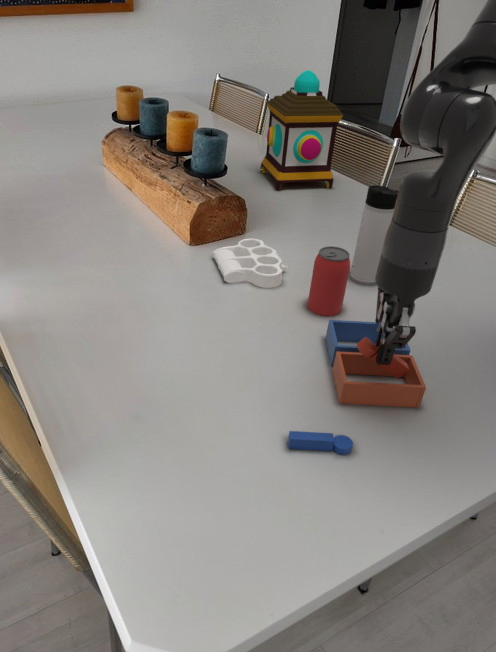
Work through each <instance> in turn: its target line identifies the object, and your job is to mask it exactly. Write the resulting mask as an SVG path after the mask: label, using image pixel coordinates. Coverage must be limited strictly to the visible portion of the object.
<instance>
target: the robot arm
mask: <svg viewBox="0 0 496 652" xmlns="http://www.w3.org/2000/svg"><path fill="white" fill-rule="evenodd" d="M492 85H496V0H487V1H486V2H485V3H484V5H483V7H482V9H481V11H480V12H479V13H478V15H477V17H476V18H475V20H474V21H473V23H472V25H471V26H470V28H469V30H468V31H467V32H466V34H465V36H464V37H463V39H462V40H461V41H460V42H459V43H458V44H457V45H456V46H455V47H454V48H453V49H451V51H450V52H449V53H447V54H446V56H445V57H444V58H443V59H441V61H440V62H439V63H437V65H436V66H434V68H432V70H431V71H430V72H429V73H428V74H427V75H426V76H425V77H424V78H423V79H422V80H421V81H420V82H419V83H418V84H417V85H416V87H415V88H414V89H413V91H412V92H411V93H410V95H409V97H408V98H407V100H406V102H405V103H404V105H403V108H402V112H401V115H400V120H399V121H400V122H399V129H400V135H401V138H402V139H403V141H404V142H405V143H406V144H407V145H408V146H409V145H410V146H411V147H413V148H417V149H419V150H423V151H427V152H430V153H433V154H436V155H439V156H443V158H442V161H441V163H440V165H439V166H438V168H436V169H415V170H412V171H409V172H407V173H406V174H405V175H404V176H403V177H402V180H401V182H400V184H399V187H398V190H397V191H398V195H397V200H396V204H395V208H394V212H393V216H392V219H391V222H390V225H389V227H388V230H387V232H386V236H385V240H384V244H383V248H382V252H381V256H380V260H379V265H378V269H377V273H376V277H375V281H376V284H375V285H376V286H377V299H376V309H375V310H376V311H375V318H374V322H376V324H378V327H377V334H379V335H378V336H377V340H376V343H374V344H375V346H376V347H377V346H378V345H379V344H380V345H379V348H378V354H377V358H376V363H377V364H378V365H389V364H391V361H392V358H393V355H394V351H395V349H403V348H404V346H405V345H406V344H407V343H408V344H409V342H410V341H411V340H412V339H413V338H414V336H415V335H416V333H417V327H416V326H414V325H413V326H412V325H410V321H411V318H412V317H413V315H414V313H415V310H416V303H415V301H416V300H418V299H419V298H422V297H424V296H426V295H428V294H429V293H430V292H431V291H432V288H433V284H434V281H435V278H436V275H437V272H438V268H439V265H440V262H441V259H442V256H443V253H444V251H445V247H446V243H447V237H448V230H449V227H450V224H451V221H452V217H453V214H454V211H455V208H456V205H457V201H458V199H459V197H460V194H461V193H462V191H463V189H464V188H465V186H466V183H467V182H468V180H469V178H470V177H471V175H472V173H473V172H474V170H475V168H476V167H477V165H478V163H480V160H481V159H482V158H483V156H484V154H485V153H486V151H487V150H488V148H489V147H490V145H491V143H492V142H493V140H494V138H495V136H496V98H495V97H494V96H493V95H492V94H490V93H488V92H486V91H481V90H475V88H479V87H483V86H492Z"/></svg>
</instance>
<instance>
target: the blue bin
mask: <svg viewBox="0 0 496 652" xmlns="http://www.w3.org/2000/svg"><path fill="white" fill-rule="evenodd" d="M377 327H378V324H376V322H375V321H360V320H341V319H329V320H328V323H327V329H326V334H325V338H324V339H325V343H326V348H327V352H328V353H327V354H328V357H329V362H330V366H331V367H333V365H334V361H335V356H336V352H337V351H338V352H357V353H361V352H360V351H359V350H358V348H357V345H349V344H339V342H348V343H358V342H360V341H361V340H362V339H363V338H364V337H367V338H368V339H370V340H371V341H372V342H373V343H374V344H375V343H376V340H377V336H378V335H379V334H377ZM394 354H395V355H410V354H411V347H410V345H409V342H408V343H407V344H406V345H405V346H404V348H403V349H395V351H394Z"/></svg>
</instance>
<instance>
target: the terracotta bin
mask: <svg viewBox="0 0 496 652" xmlns="http://www.w3.org/2000/svg"><path fill="white" fill-rule="evenodd" d="M397 356H398V357H399V358H401V359H402V360H403V361H404V362H406V363H407V365H408V367H409V370H408V371H407V372H406V373H404V374H403V375H402V376H400V377H399V378H404V382H405V383H404V384H403V383H388V382H369V381H366V382H365V381H351V380H348V379H347V375H359V376H360V375H361V376H362V375H363V376H380V377H381V376H382V377H394V376H393V375H391V374H390V373H389V372H387V371H386V370H385V369H383V368H382V367H381V366H379V365H378V364H377V363H375V362H374V361H373V360H371V359H370V358H367V357H365V356H364V355H363V354H362V353H357V352H338V351H337V352H336V356H335V361H334V365H333V366H332V370H331V371H332V376H333V381H334V385H335V391H336V395H337V400H338V404H341V405H342V404H343V405H359V406H360V405H361V406H362V405H363V406H380V407H382V406H383V407H396V408H397V407H398V408H416V409H418V408H420V407H421V404H422V401H423V398H424V395H425V392H426V390H427V386H426V383H425V381H424V379H423V376H422V375H421V372H420V369H419V366H418V365H417V363H416V360H415V358H414V355H412V354H411V355H410V354H409V355H397Z"/></svg>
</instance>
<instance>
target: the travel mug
mask: <svg viewBox="0 0 496 652" xmlns="http://www.w3.org/2000/svg"><path fill="white" fill-rule="evenodd" d="M398 191H399V190H398V189H396V190H395V189H392V188H389V187H388V186H383V185H369V186H368V189H367V192H366V198H365V201H364V206H363V211H362V214H361V215H362V217H361V219H360V224H359V230H358V235H357V239H356V244H355V249H354V253H353V258H352V264H351V266H350V271H349V279H350V280H351V281H352V282H354V283H356V284H358V285H362V286H374V285H377V284H376V281H375V277H376V273H377V269H378V265H379V260H380V256H381V252H382V248H383V244H384V240H385V236H386V232H387V230H388V227H389V225H390V222H391V219H392V216H393V212H394V208H395V204H396V200H397V195H398Z"/></svg>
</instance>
